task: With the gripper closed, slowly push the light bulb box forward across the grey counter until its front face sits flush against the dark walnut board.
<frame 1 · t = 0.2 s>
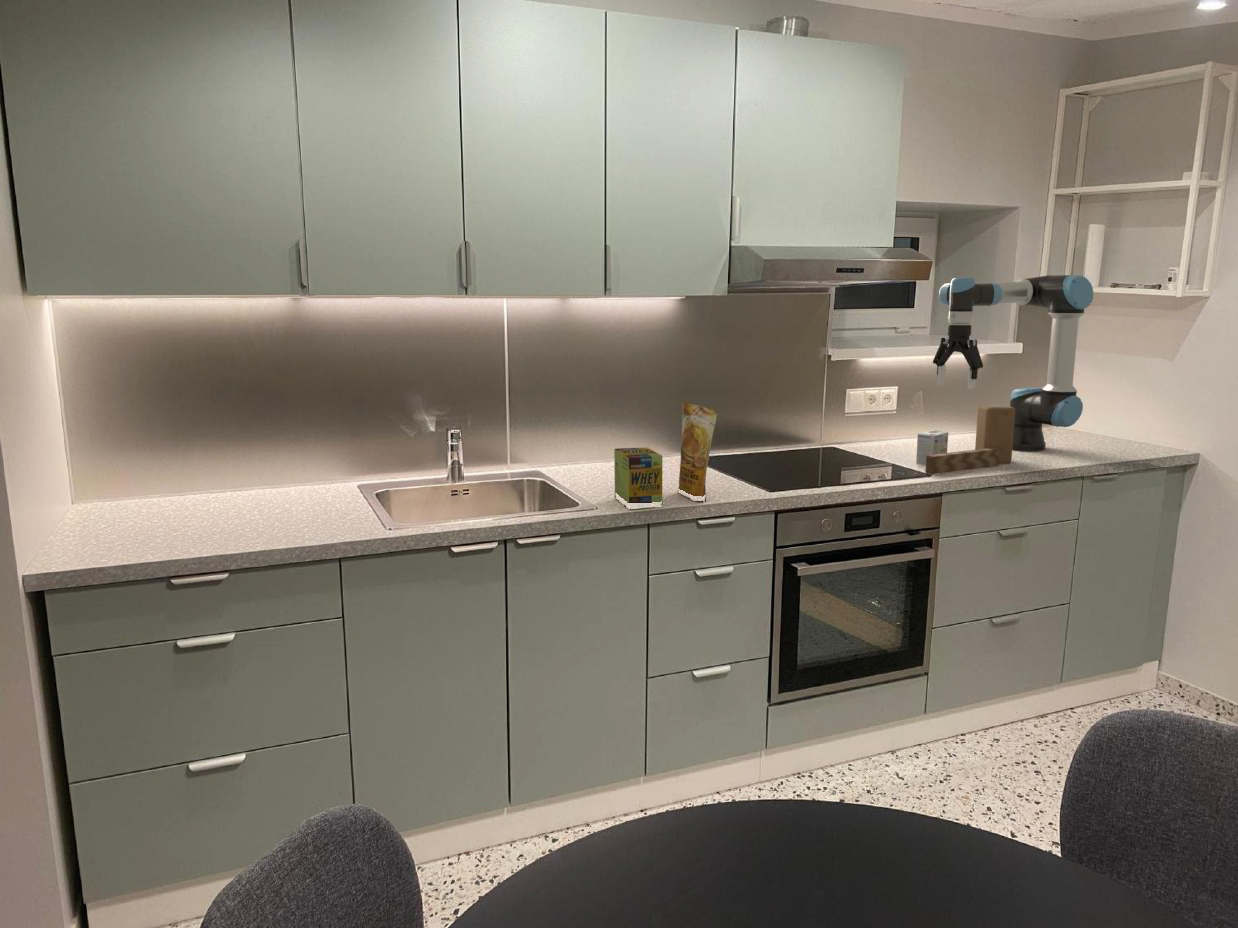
hand: (955, 387, 317), 28 cm above the table, tool pointing down, fingers open, 13 cm apart
protein box: (638, 503, 274), on the table
light bulb box: (931, 462, 330), on the table
wooden block: (992, 461, 330), on the table
walnut board: (962, 469, 317), on the table
pancake mix bag: (694, 497, 281), on the table
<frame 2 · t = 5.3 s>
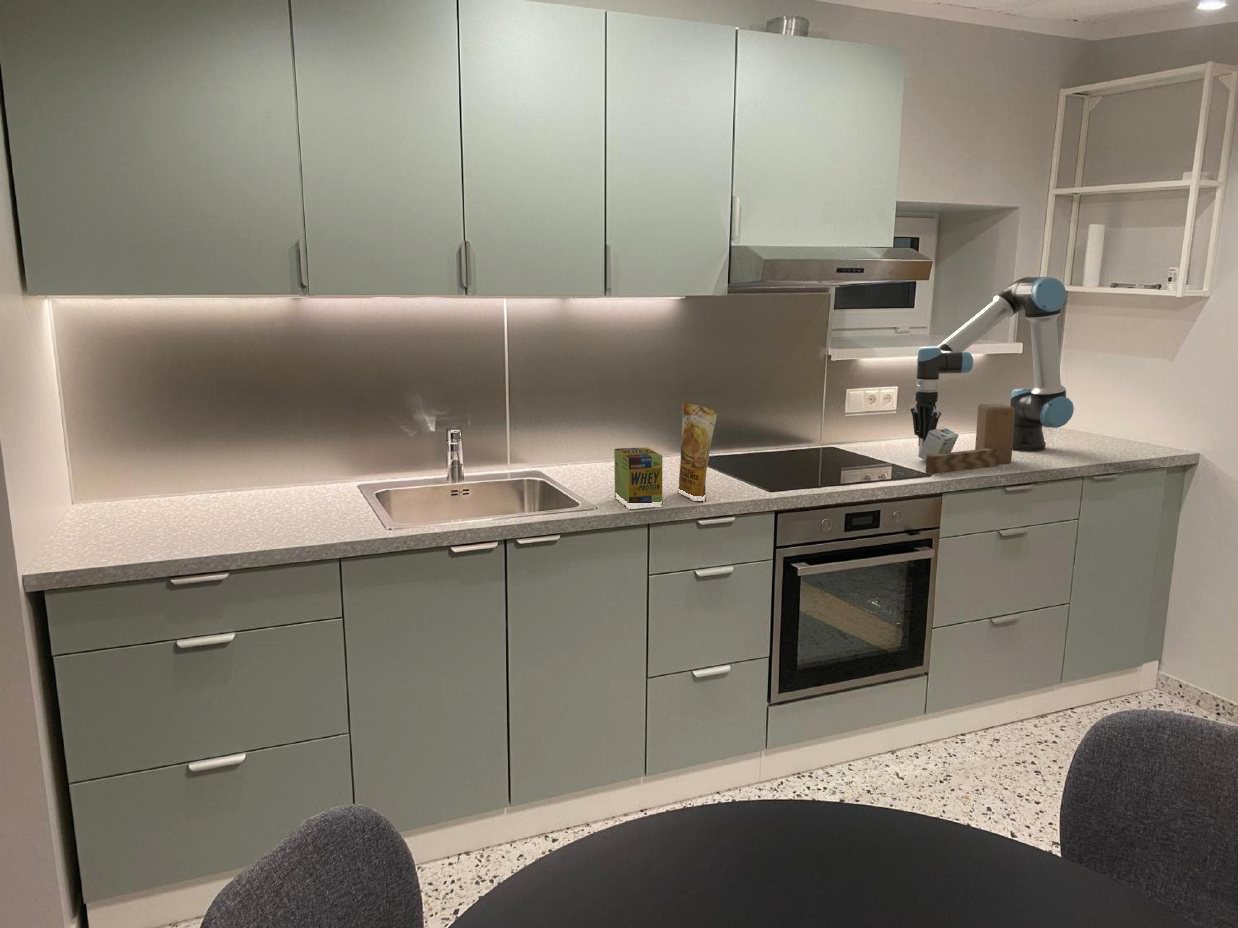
hand: (922, 455, 333), 2 cm above the table, tool pointing down, fingers closed
light bulb box: (932, 459, 329), point 1 cm above the table, touching gripper, hand
everything else where it was.
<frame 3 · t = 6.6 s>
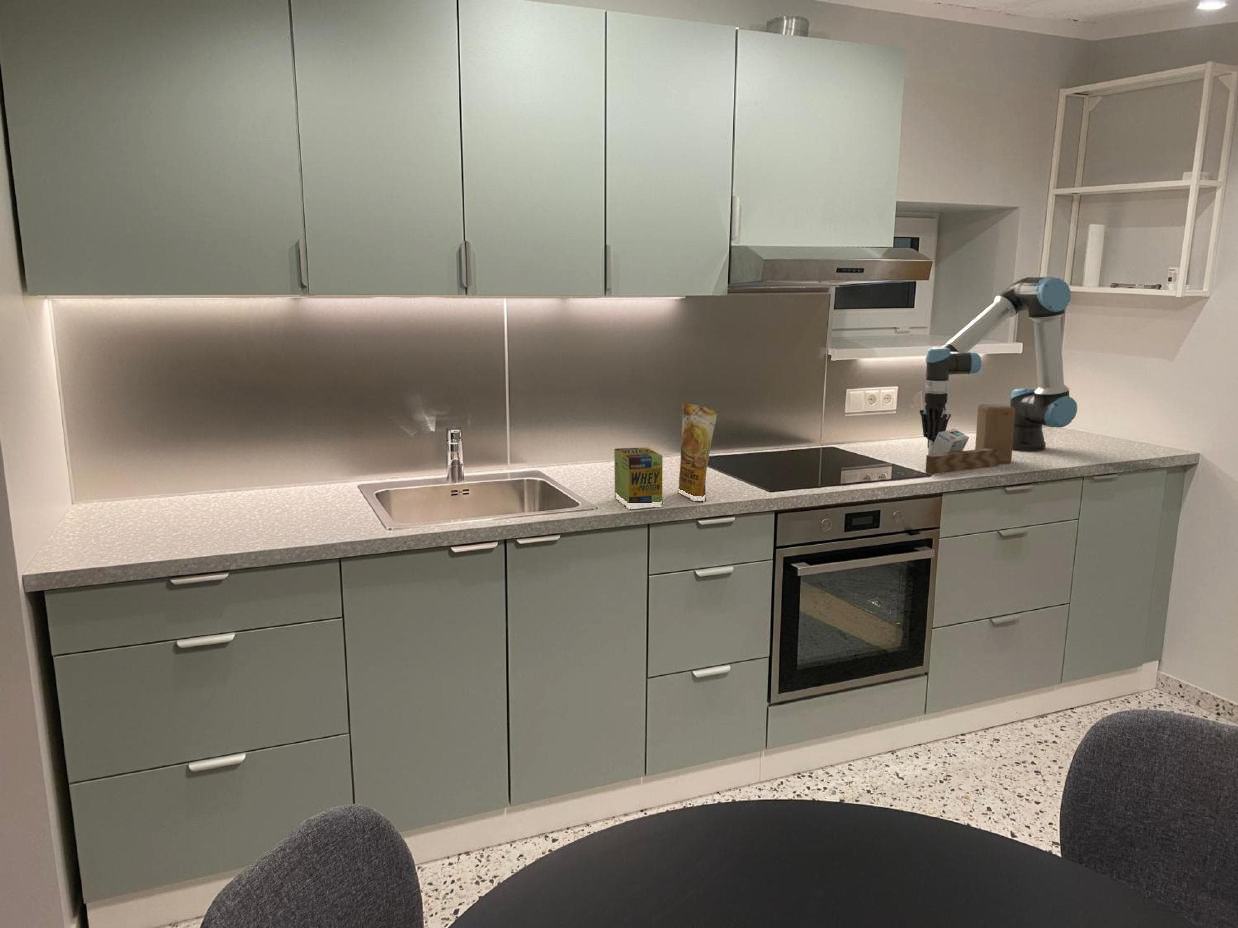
hand: (932, 458, 329), 1 cm above the table, tool pointing down, fingers closed
light bulb box: (941, 461, 325), point 1 cm above the table, touching gripper, hand
everything else where it was.
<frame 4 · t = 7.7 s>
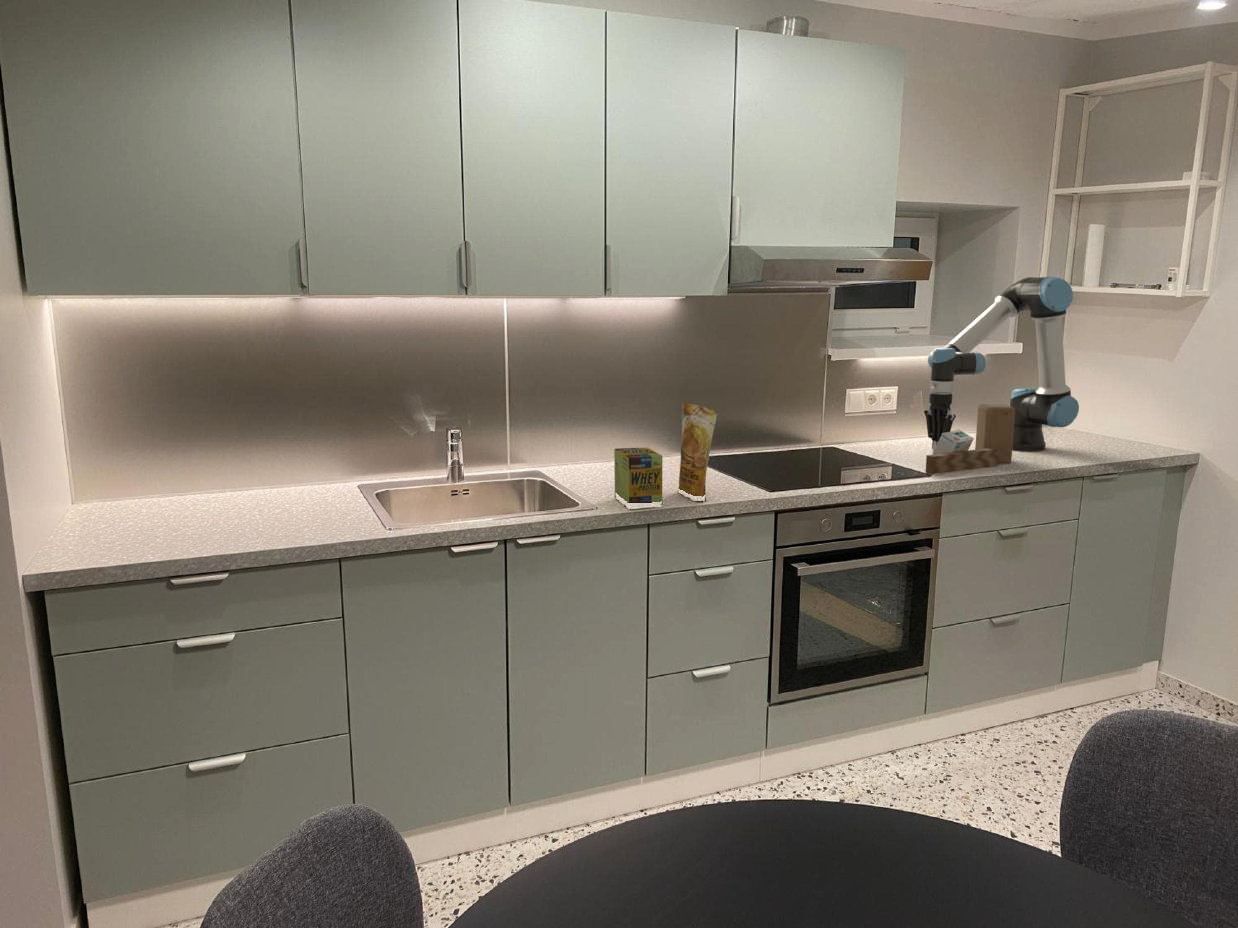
hand: (936, 458, 327), 2 cm above the table, tool pointing down, fingers closed
light bulb box: (945, 462, 324), point 1 cm above the table, touching gripper, hand, walnut board
everything else where it was.
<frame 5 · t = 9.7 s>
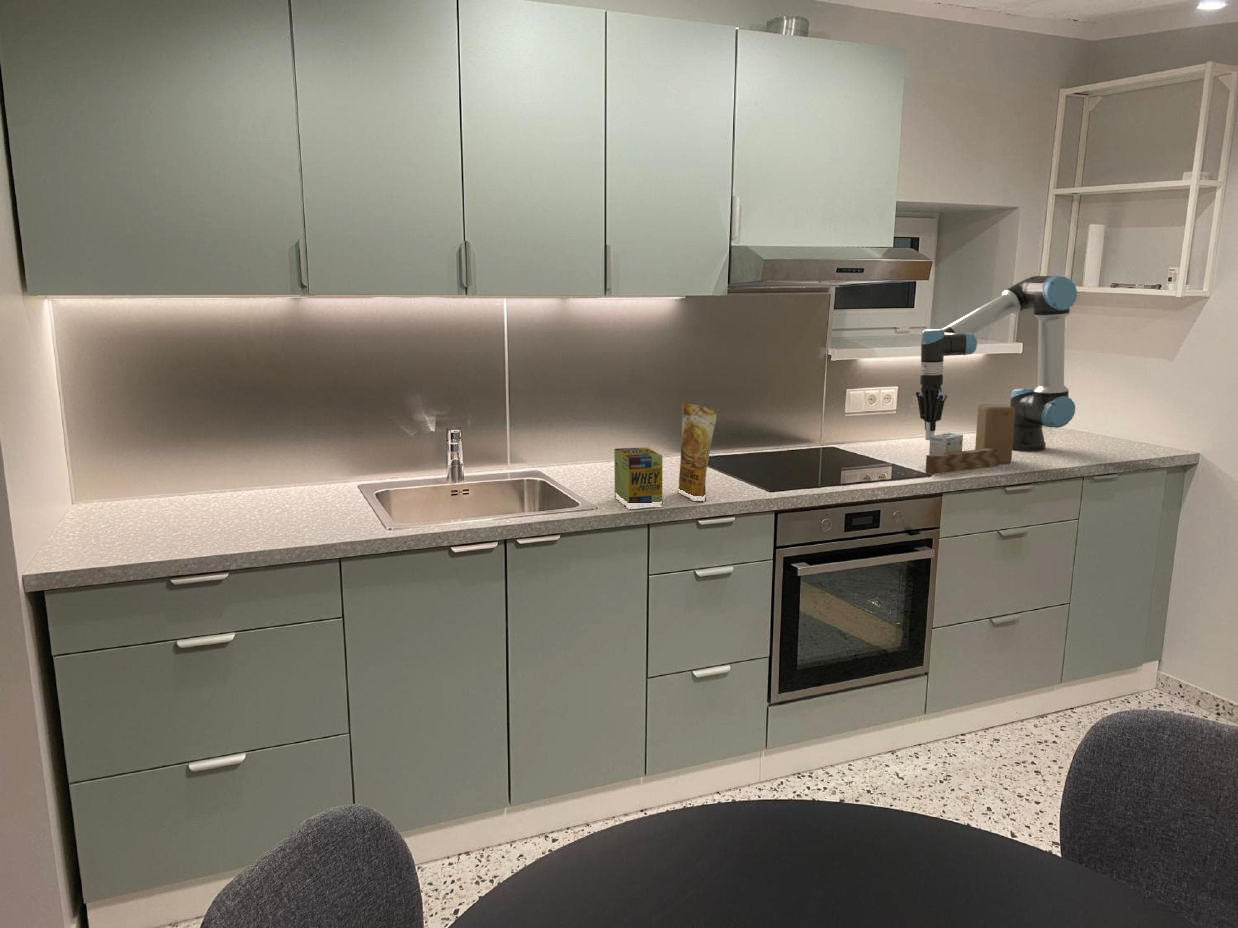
hand: (929, 439, 330), 8 cm above the table, tool pointing down, fingers closed
light bulb box: (944, 465, 324), on the table
everything else where it was.
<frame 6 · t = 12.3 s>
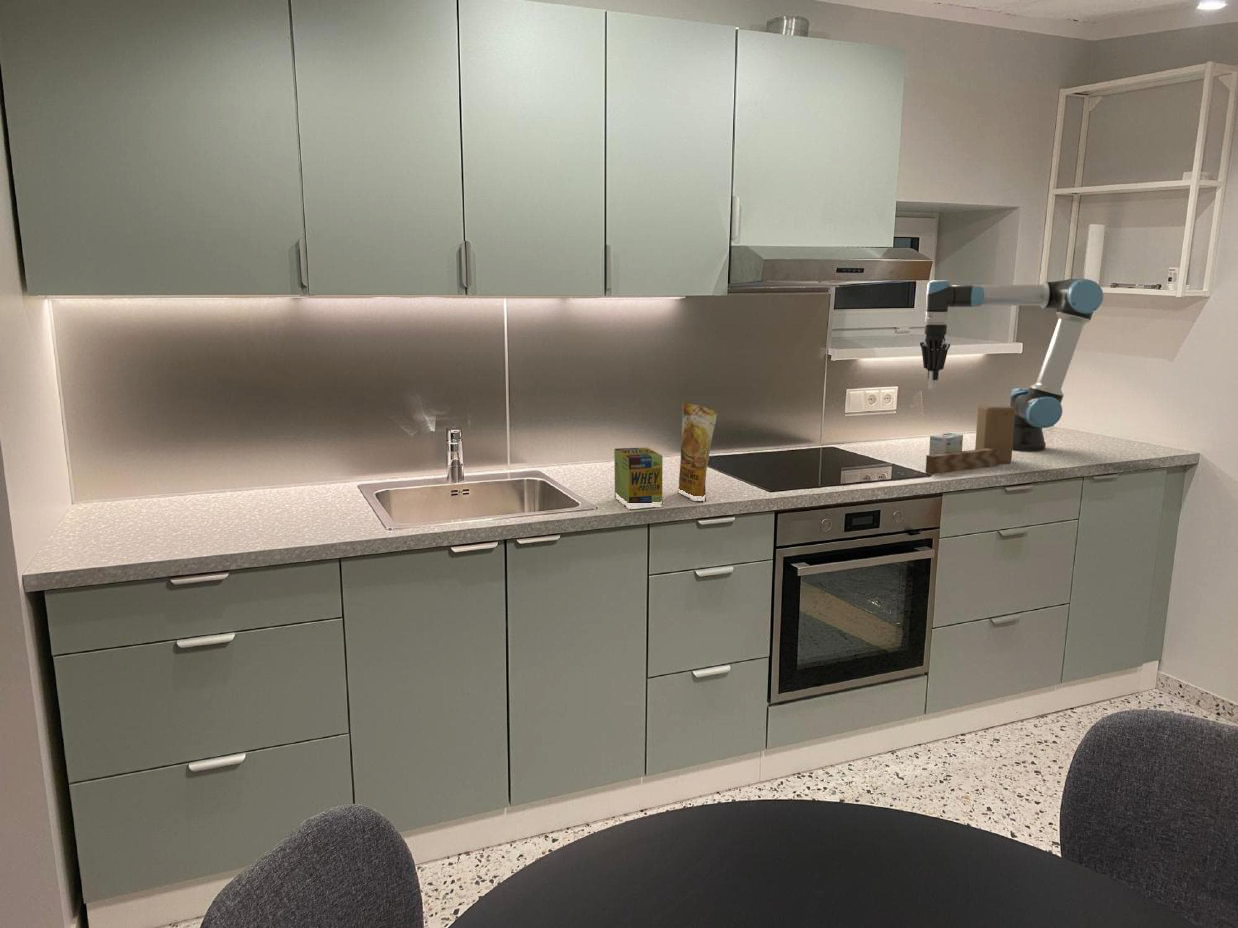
hand: (932, 388, 339), 24 cm above the table, tool pointing down, fingers closed
nothing on the table moved.
at the end: light bulb box inside the target area on the table beside the walnut board (0.8 cm from its centre), on the table; light bulb box tilted 0° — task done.
